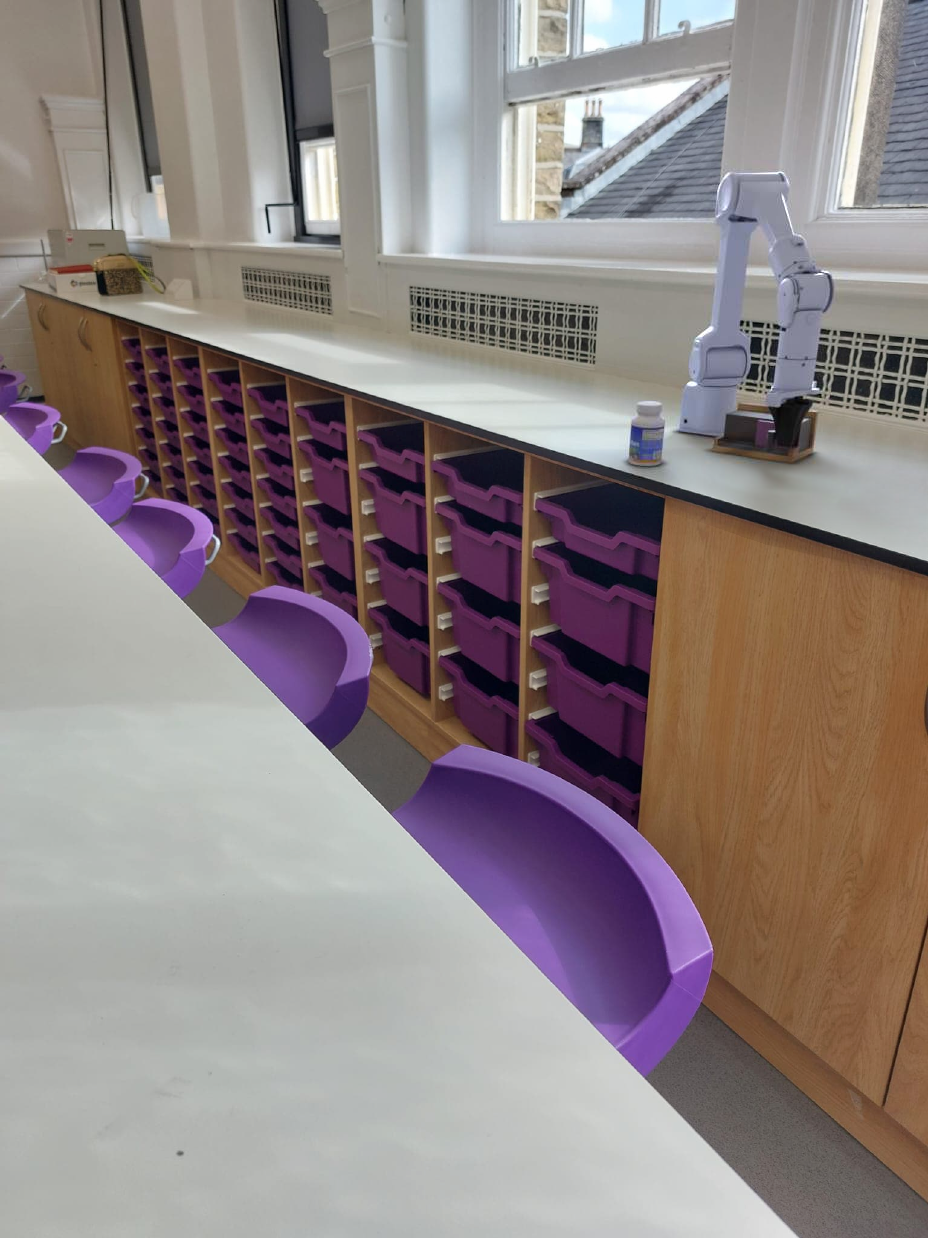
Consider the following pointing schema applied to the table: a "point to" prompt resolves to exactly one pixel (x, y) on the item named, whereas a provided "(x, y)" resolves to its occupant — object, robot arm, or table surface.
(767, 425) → the sliding door
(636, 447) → the pill bottle
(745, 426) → the sliding door box
